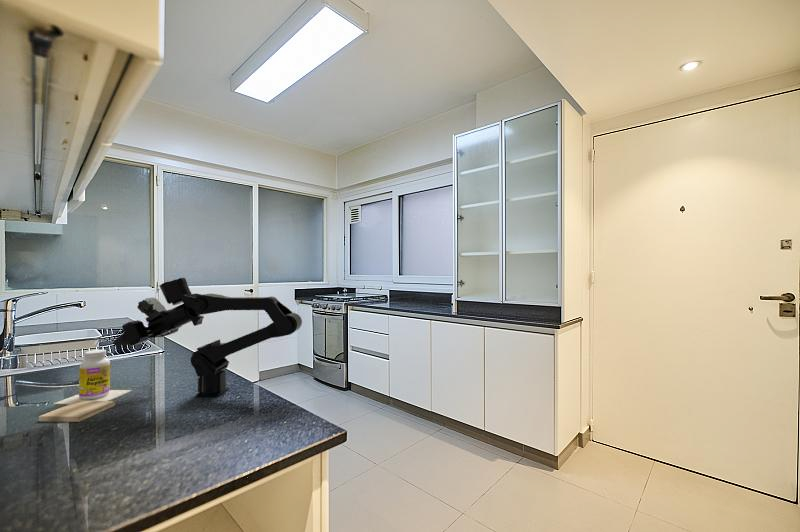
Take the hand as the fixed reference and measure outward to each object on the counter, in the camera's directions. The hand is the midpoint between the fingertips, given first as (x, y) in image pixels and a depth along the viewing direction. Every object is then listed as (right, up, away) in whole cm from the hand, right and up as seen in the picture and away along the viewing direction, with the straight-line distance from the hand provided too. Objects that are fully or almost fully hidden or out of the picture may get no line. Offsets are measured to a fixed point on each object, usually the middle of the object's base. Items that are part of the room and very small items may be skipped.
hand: (126, 340), depth 102 cm
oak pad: (-1, -16, -13) cm, 21 cm away
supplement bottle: (-7, -16, -2) cm, 17 cm away
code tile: (-7, -16, -2) cm, 17 cm away
